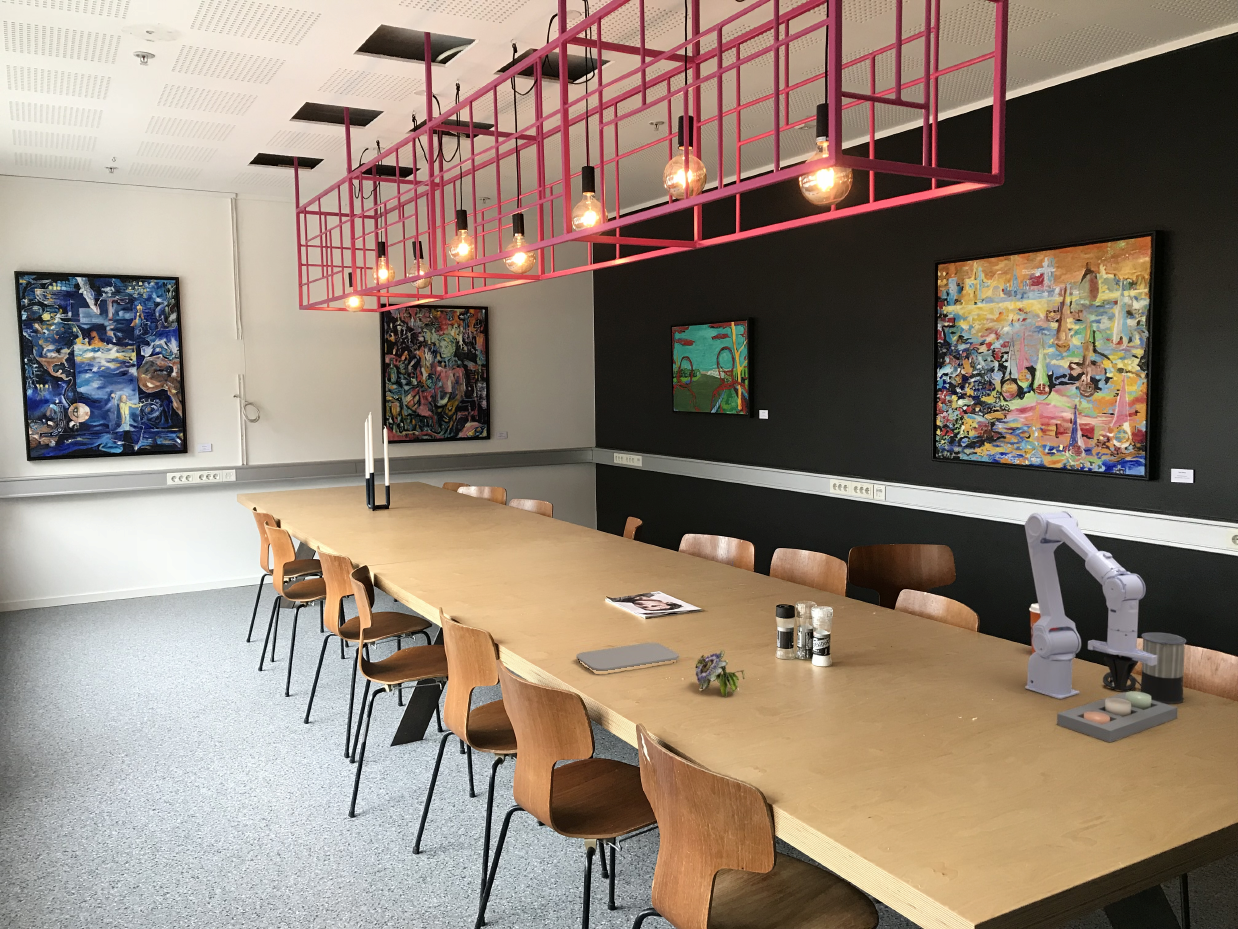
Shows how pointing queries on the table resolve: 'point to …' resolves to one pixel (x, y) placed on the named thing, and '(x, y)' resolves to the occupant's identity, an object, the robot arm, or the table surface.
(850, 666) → the table surface
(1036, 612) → the paper cup
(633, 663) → the tablet
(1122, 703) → the button cream
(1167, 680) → the milk frother
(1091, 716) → the button terracotta
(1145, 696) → the button sage
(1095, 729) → the button board
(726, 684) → the passion flower
